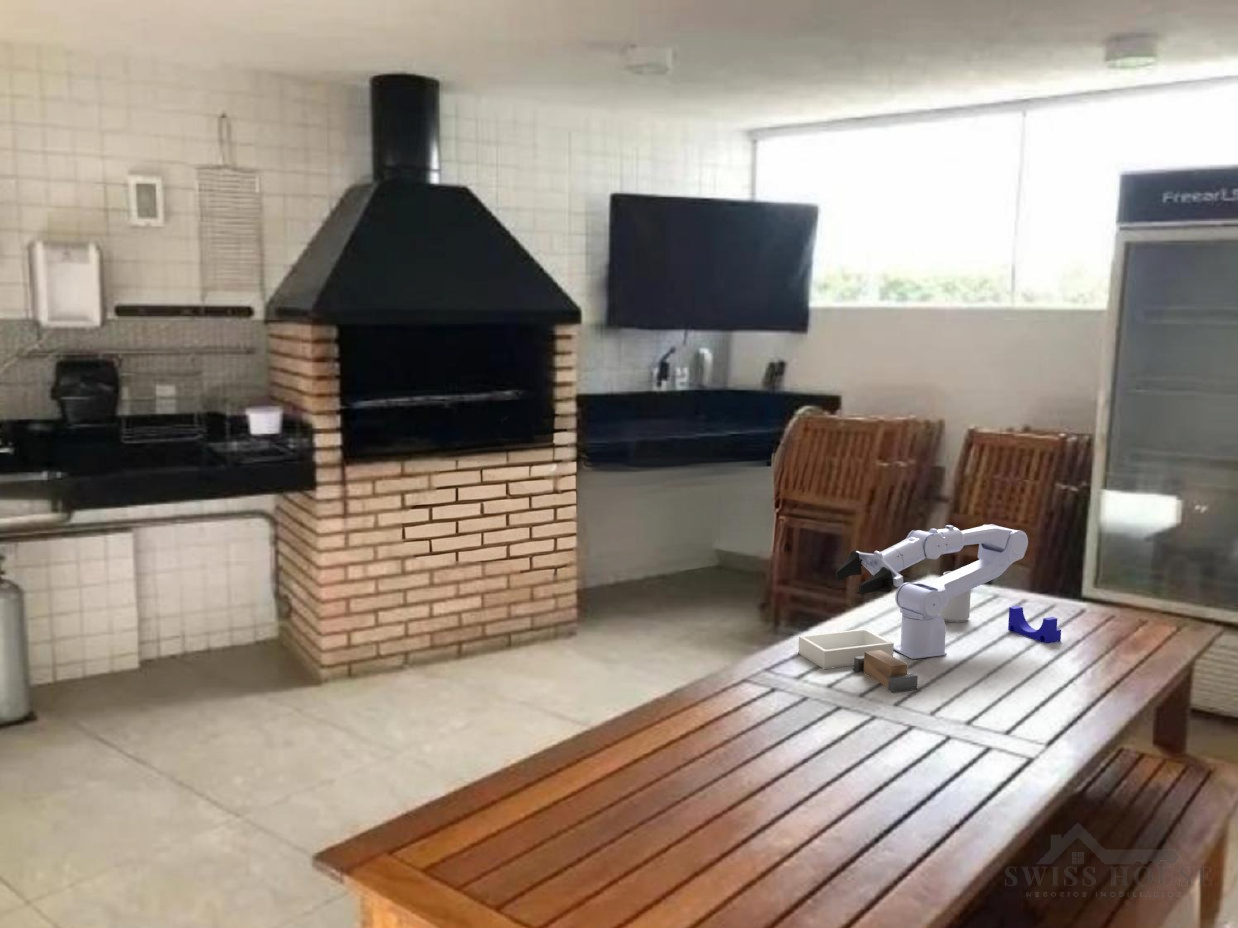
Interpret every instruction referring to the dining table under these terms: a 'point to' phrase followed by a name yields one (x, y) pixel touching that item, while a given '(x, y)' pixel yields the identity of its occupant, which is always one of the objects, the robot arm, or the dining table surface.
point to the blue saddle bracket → (1020, 626)
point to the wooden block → (882, 666)
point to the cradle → (892, 678)
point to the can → (957, 607)
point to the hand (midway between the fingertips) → (848, 582)
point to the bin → (841, 647)
